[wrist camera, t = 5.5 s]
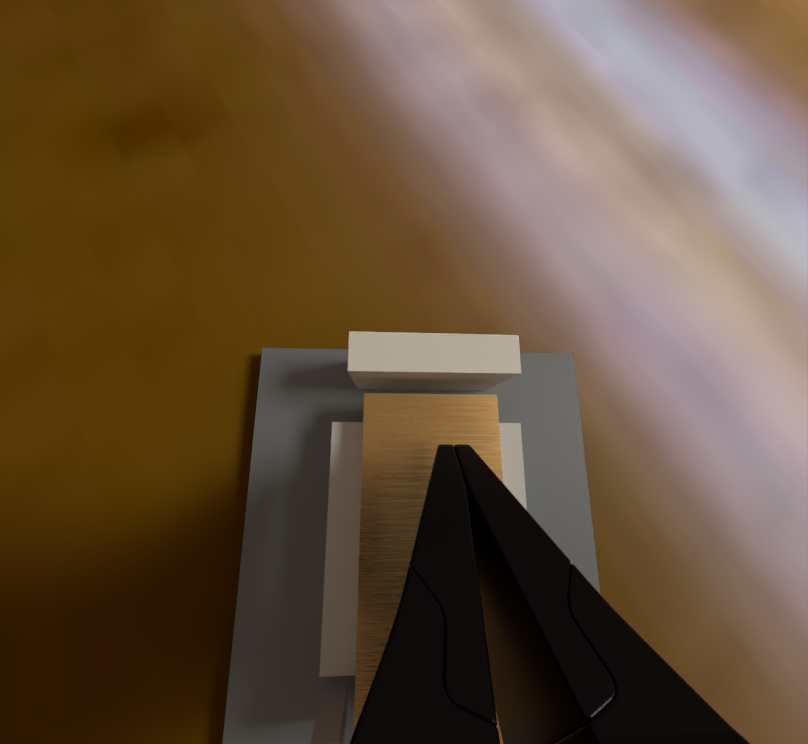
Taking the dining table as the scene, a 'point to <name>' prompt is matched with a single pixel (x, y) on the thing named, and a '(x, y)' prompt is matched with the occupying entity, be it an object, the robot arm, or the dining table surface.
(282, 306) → the dining table surface
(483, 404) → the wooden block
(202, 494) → the dining table surface
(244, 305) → the dining table surface
